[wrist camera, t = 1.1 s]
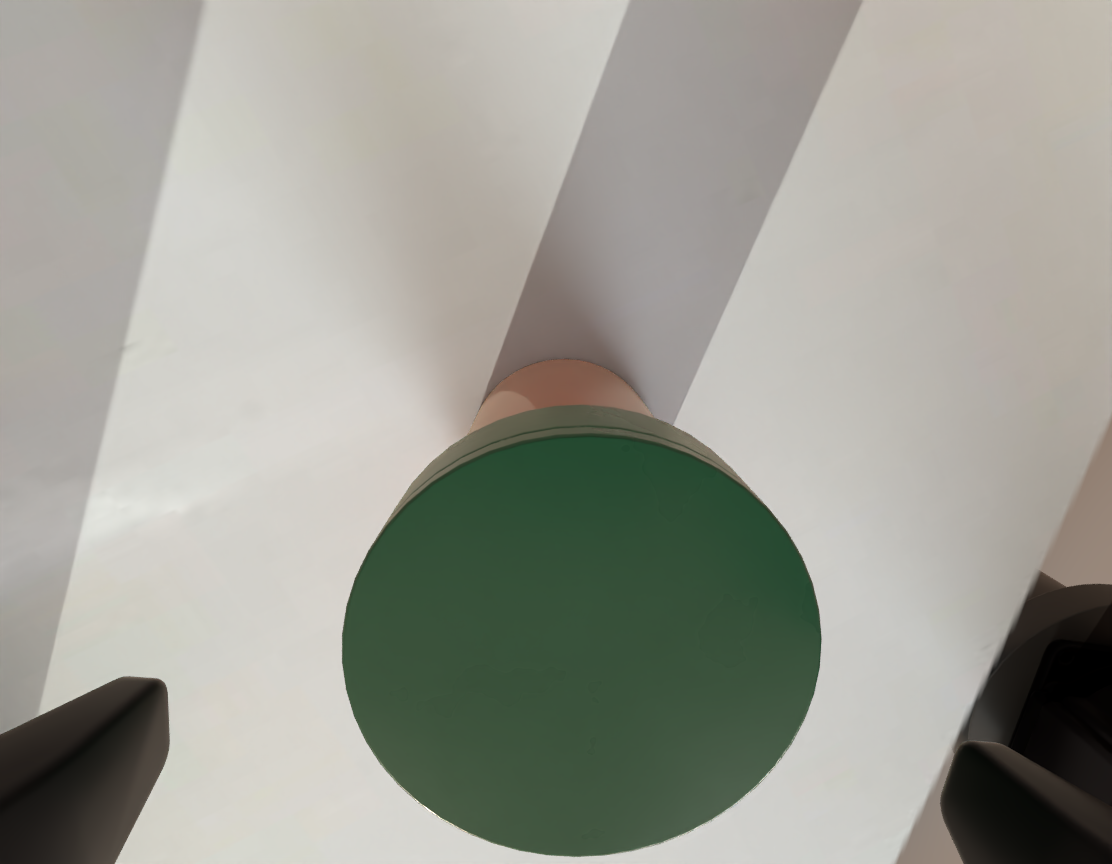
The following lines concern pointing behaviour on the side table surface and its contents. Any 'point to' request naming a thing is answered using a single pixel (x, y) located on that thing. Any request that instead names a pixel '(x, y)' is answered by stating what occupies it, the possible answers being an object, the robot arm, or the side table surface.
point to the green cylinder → (580, 634)
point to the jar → (557, 390)
